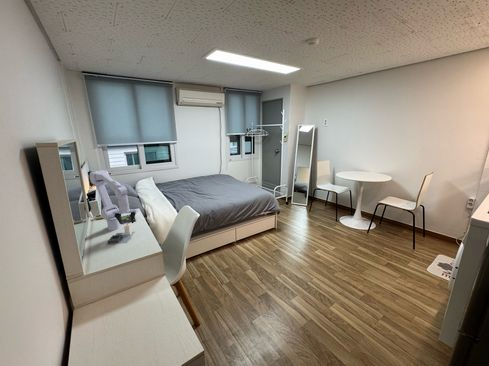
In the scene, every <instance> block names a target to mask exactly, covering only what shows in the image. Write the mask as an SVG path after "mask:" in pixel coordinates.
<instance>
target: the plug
mask: <svg viewBox="0 0 489 366" xmlns="http://www.w3.org/2000/svg"><path fill="white" fill-rule="evenodd" d="M123 228H124V232H125V235H126V236H128V235H131V234H132V232H133V228H132V222H131V223H126V224H124V226H123Z"/></svg>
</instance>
